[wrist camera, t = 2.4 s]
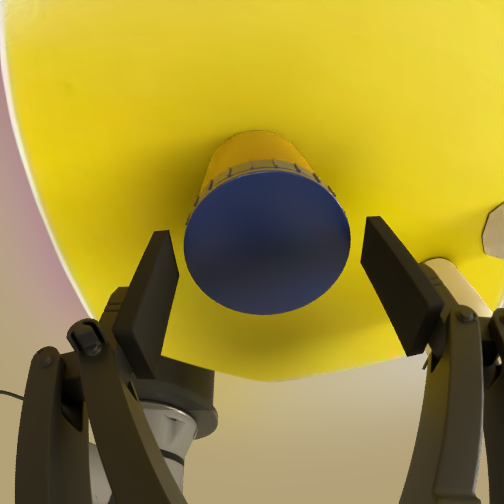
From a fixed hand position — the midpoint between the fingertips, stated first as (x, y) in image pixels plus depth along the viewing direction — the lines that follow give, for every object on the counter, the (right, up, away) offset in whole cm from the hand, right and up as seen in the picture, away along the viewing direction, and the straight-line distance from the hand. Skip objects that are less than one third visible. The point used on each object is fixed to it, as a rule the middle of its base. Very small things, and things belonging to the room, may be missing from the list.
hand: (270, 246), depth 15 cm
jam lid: (0, 0, 0) cm, 0 cm away
